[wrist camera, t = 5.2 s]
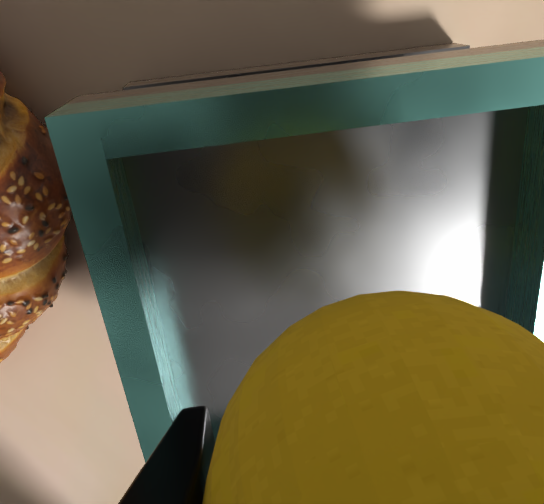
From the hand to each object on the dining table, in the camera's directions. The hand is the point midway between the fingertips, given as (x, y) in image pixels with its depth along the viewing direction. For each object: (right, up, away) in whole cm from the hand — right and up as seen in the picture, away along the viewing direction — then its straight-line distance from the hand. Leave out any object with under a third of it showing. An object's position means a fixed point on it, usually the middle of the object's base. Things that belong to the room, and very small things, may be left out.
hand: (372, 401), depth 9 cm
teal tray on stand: (-1, +4, +7) cm, 8 cm away
